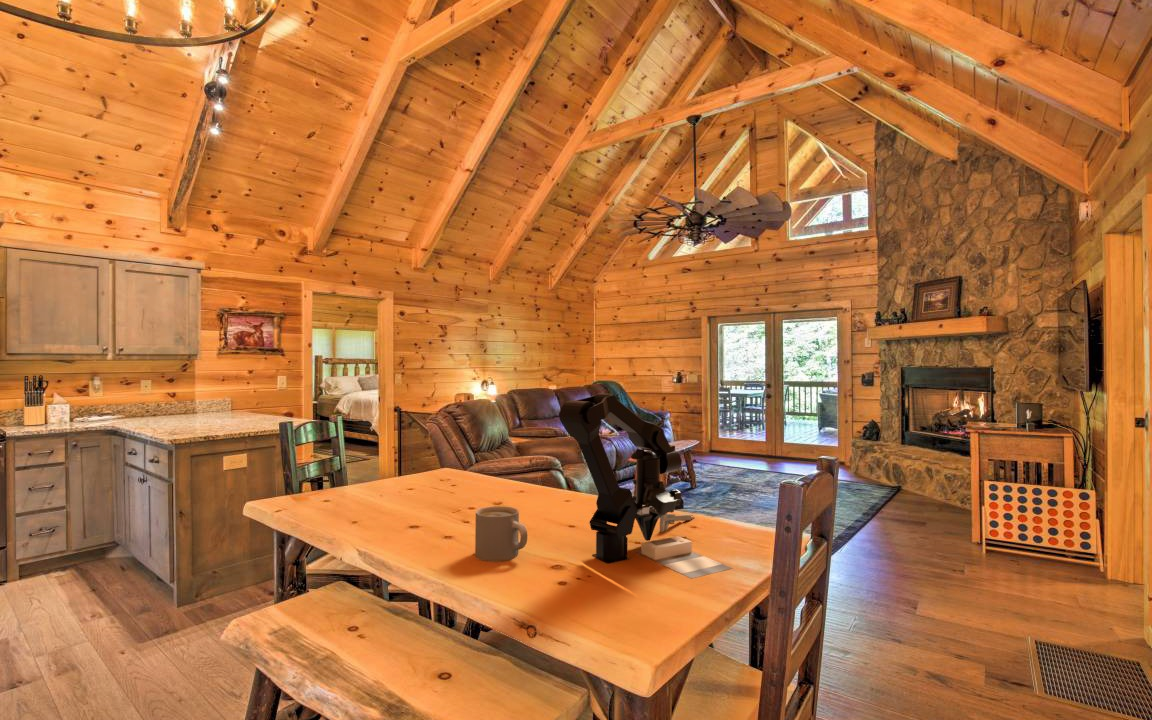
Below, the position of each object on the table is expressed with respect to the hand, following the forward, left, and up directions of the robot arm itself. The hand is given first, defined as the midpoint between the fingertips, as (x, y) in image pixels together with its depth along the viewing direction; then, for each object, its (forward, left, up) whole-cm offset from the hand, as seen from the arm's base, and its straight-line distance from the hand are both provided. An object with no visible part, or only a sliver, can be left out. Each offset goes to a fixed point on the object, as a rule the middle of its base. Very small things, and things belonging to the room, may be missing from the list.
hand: (647, 540), depth 139 cm
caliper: (+19, +11, -2) cm, 22 cm away
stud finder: (0, -7, -1) cm, 7 cm away
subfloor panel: (0, -12, -2) cm, 12 cm away
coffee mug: (-34, +11, -2) cm, 36 cm away
